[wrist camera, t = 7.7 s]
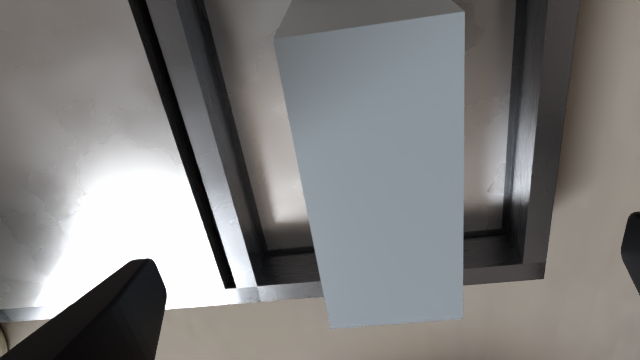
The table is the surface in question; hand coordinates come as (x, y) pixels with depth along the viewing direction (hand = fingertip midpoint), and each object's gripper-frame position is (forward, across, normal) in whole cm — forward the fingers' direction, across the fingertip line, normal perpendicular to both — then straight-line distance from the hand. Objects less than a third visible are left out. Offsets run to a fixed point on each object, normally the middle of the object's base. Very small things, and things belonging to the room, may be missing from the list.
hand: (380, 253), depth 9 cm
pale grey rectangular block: (+8, 0, 0) cm, 8 cm away
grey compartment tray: (+9, +5, 0) cm, 10 cm away
